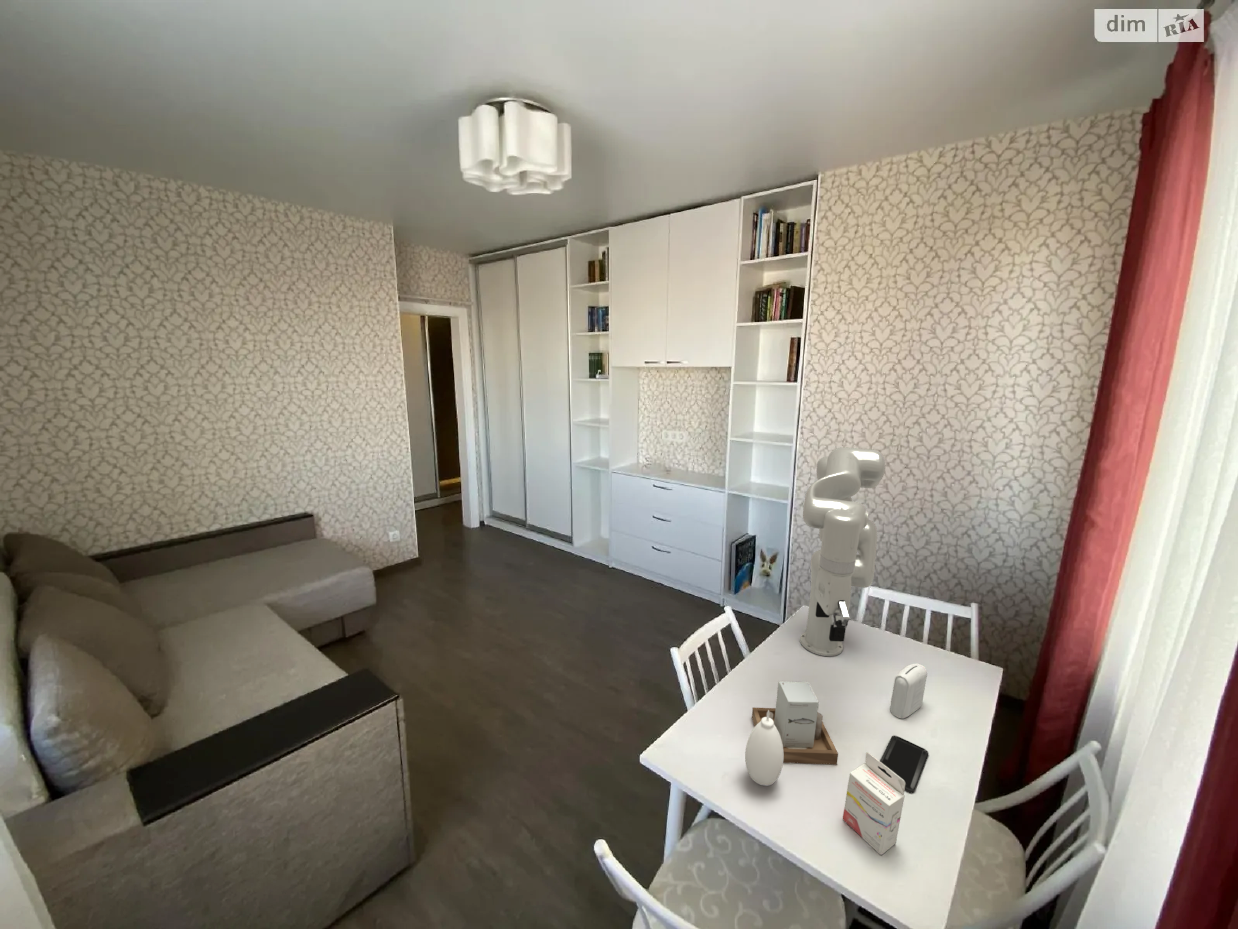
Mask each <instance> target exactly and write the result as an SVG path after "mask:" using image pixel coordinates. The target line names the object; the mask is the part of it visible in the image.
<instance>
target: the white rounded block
mask: <svg viewBox="0 0 1238 929" xmlns="http://www.w3.org/2000/svg"><path fill="white" fill-rule="evenodd" d="M927 677H928V671H927V669H926V667H925V666H924V665H922V664H920V663H912V664H909V665H907V666H905V667H903V669H901V670H900V671H899V672H898V673H897V674H896V675H895V677H894V683H893V688H892V692H891V693H892V694H891V698H890V699H891V700H890V704H889V705H890V706H889V711H890V712H891V714H892V715H893V716H895V717H897V718H899V719H906V718H908V717H909V716H911V715H912V714H914V713H915V712H916V711H918V710H919V709H920V708H921V707H922V705H923V699H924V695H925V689H926V684H927Z"/></svg>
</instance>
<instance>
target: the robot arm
mask: <svg viewBox="0 0 1238 929" xmlns="http://www.w3.org/2000/svg"><path fill="white" fill-rule="evenodd" d="M885 472H886V459H885V457H884V455H883V453H882V452H881V451H879V450H877V449H870V448H857V447H843V446H842V447H838V448H835V449H833V450H832V451H831V452H830V453H829V454H828V456H823V457H821V458H819V460H818V461H817V463H816V479H817V480H816V481H814V482H813V483H812V484H810V486H809V487H808V489H807V491H806V493H805V497H804V501H803V502H804V503H803V509H802V517H803V518H802V519H803V521H804V524H805V525H806V526H808V527H810V528H813V529H819V531H818V536H819V539H820V542H821V546H820V547H821V548H820V549H818V550H816V551H815V552H813V553H812V555H811V558H810V577H811V578H810V580H811V581H810V593H809V603H808V604H809V605H808V612H807V621H806V630H805V631H804V632H803V633H801V635H800V637H799V642H800V644H801V646H802V647H803V648H804V649H806V650H807V651H809V652H811V653H813V654H816V655H819V656H825V657H835V656H838V655H840V654H842V652H843V650H844V644H843V642H844V641H845V635H846V628H847V627H848V625H849V622H850V615H849V612H850V604H851V596H852V595H851V594H852V587H856V588H863V589H864V588H865V589H866V588H869V587H871V585H872V584H873V582H874V577H875V571H876V570H875V569H876V568H875V566H876V556H877V546H878V545H877V544H878V530H877V526H876V523H875V522H874V521H872V520H871V519H869V511H868V510H867V508H866V506H865V504H863V503H861V502H858V501H853V499H852V498H853V496H855V495H856V494H857V493H858V492H859V491H860V489H861V488H862V489H874V488H876V487H877V486H879V484H880V482H881V481H882V480H883V478H884V476H885Z"/></svg>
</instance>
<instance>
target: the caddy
mask: <svg viewBox="0 0 1238 929" xmlns="http://www.w3.org/2000/svg"><path fill="white" fill-rule="evenodd" d="M775 709H776V707H755V706H754V707H752V711H751V720H752V723H753V726H754V727H753V728H755V726H756V725H757V724H758V723H759V722H760V721H761V719H762V718H763V717H767V712H768V710H769V718H771V719H772V720H773V721H774V719H775ZM823 719H824V715H823V714H821V713H819V712H818V713H817V721H816V728H815V736H814V745H813V748H810V747H783V752H784V759H783V764H802V765H803V764H805V765H833V766H834V765H835V766H837V765H838V759H839V752H838V750H837V748H836V746H835V744H834V742H833V740H832V738H831V736H830V734H829V732H828V730H827V728H826V726H825V724H824V721H823Z"/></svg>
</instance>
